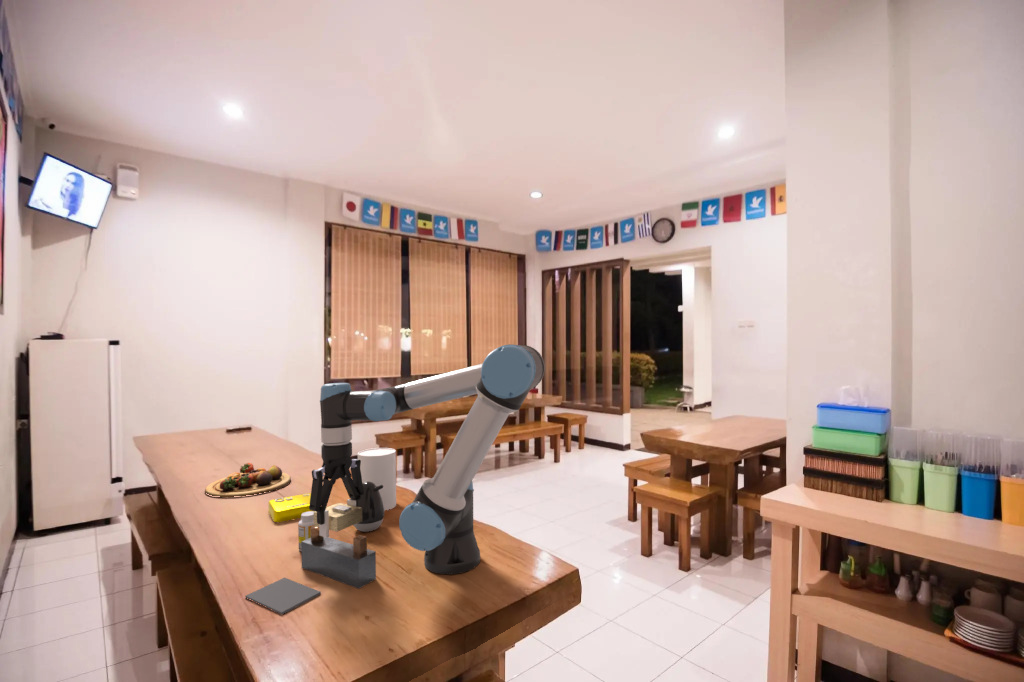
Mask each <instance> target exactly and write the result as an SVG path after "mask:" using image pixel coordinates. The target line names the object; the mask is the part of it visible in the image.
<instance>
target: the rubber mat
mask: <svg viewBox="0 0 1024 682" xmlns="http://www.w3.org/2000/svg"><path fill="white" fill-rule="evenodd" d="M320 595H322V593H321V591H320V590H317V589H315V588H313V587H310V586H308V585H305V584H302V583H300V582H297V581H294V580H292V579H289V578H288V577H283V578H280V579H279V580H276V581H274V582H272V583H270V584H267V585H266V586H264V587H261V588H259V589H257V590H255V591H252V592H250V593H248V594H246V595H245V597H246V598H248V599H251V600H253V601H255V602H257V603H259V604H261V605H264V606H266V607H267V608H270V609H272V610H273V611H272V610H271V611H272V612H274V611H275V612H274V613H276V612H278V613H279V614H278V613H277V614H278V615H280V614H281V616H283V615H285V614H286V612H287V613H288V612H290V611H292V610H294V609H296V608H298V607H300V606H301V605H303V604H305V603H307V602H309V601H311V600H312V599H315V598H316V597H318V596H320ZM245 597H244V598H245ZM246 598H245V599H246ZM248 599H247V600H248ZM257 603H256V604H257ZM259 604H258V605H259ZM261 605H260V606H261ZM267 608H266V609H267ZM270 609H269V610H270ZM284 613H285V614H284ZM282 614H283V615H282Z"/></svg>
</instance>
